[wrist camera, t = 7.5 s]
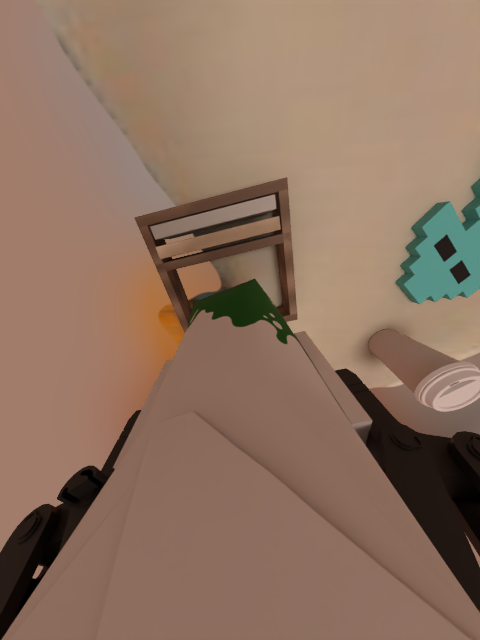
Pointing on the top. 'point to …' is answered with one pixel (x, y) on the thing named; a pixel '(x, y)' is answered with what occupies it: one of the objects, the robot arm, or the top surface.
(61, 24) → the top surface
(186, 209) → the offcut rack
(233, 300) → the soya milk
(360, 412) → the robot arm
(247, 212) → the grey offcut
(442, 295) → the alien figure
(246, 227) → the birch offcut
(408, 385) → the coffee cup
